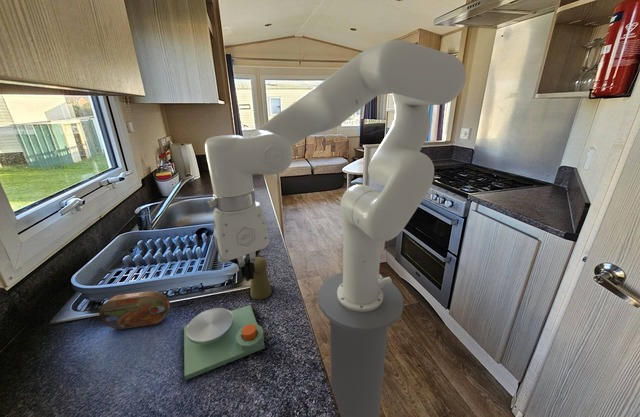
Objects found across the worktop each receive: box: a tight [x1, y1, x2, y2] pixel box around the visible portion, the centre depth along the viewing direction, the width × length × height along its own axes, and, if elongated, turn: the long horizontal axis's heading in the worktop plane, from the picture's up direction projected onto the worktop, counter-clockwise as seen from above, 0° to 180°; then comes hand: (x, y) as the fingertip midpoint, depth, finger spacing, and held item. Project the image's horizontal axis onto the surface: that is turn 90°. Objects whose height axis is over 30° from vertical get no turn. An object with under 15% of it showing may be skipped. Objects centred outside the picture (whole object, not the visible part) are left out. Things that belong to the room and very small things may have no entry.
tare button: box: [242, 324, 257, 341], centre depth 58 cm, size 3×3×2 cm
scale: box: [183, 304, 266, 381], centre depth 60 cm, size 16×14×3 cm
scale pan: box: [187, 307, 234, 344], centre depth 60 cm, size 10×10×1 cm
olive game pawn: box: [249, 256, 272, 301], centre depth 74 cm, size 6×6×11 cm
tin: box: [98, 290, 171, 330], centre depth 64 cm, size 15×3×8 cm, turn 99°
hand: (248, 277), depth 58 cm, fingers closed
